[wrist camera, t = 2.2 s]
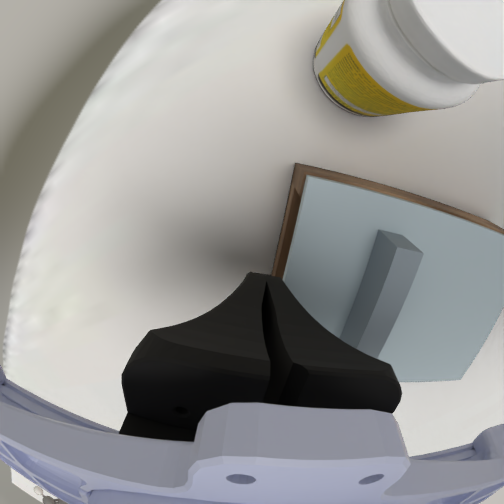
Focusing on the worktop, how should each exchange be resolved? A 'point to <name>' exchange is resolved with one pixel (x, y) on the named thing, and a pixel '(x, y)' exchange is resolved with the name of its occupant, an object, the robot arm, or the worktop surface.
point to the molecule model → (48, 497)
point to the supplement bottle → (409, 54)
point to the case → (304, 170)
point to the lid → (396, 278)
